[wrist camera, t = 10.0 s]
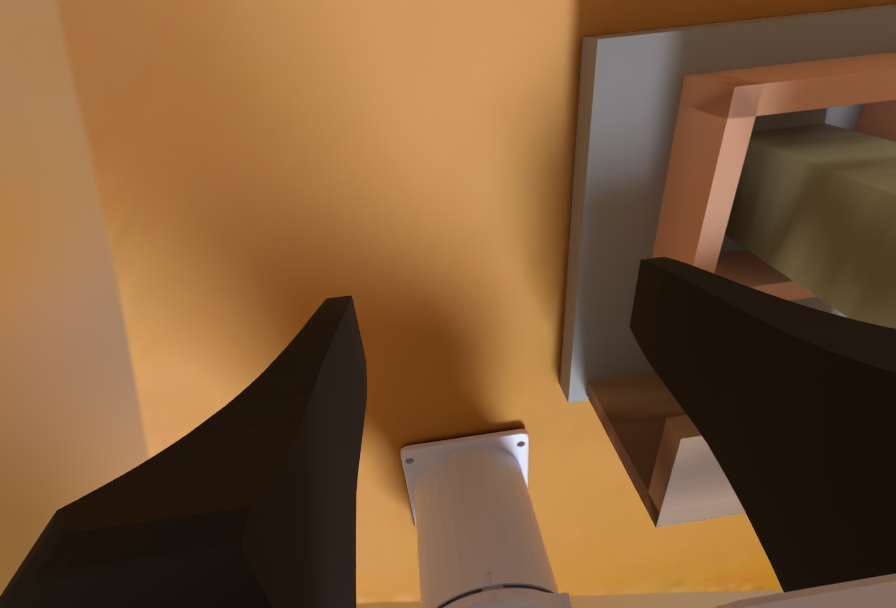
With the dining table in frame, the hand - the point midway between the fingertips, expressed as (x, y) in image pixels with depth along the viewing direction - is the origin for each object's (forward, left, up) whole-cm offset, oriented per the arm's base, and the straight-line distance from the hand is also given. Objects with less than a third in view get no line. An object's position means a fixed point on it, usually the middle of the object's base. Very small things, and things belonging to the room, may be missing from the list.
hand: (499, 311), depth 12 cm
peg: (-1, -14, -9) cm, 16 cm away
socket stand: (-4, -14, -10) cm, 17 cm away
